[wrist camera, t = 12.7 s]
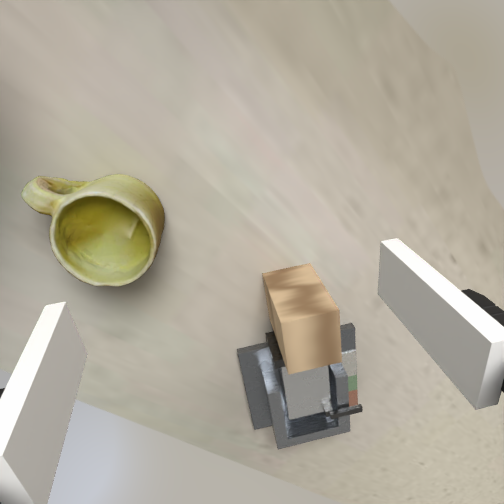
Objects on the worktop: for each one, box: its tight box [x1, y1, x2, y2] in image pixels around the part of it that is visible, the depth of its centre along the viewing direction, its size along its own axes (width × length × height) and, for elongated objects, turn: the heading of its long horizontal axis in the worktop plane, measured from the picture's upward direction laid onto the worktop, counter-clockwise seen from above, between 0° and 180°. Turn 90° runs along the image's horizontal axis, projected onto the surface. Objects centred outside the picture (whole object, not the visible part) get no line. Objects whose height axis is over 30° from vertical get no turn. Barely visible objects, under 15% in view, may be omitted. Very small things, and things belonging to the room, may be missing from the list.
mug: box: [21, 174, 165, 286], centre depth 37 cm, size 12×10×10 cm
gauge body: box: [237, 323, 358, 449], centre depth 54 cm, size 16×15×5 cm
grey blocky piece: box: [266, 331, 362, 420], centre depth 51 cm, size 11×13×5 cm
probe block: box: [262, 263, 342, 375], centre depth 45 cm, size 6×7×10 cm
